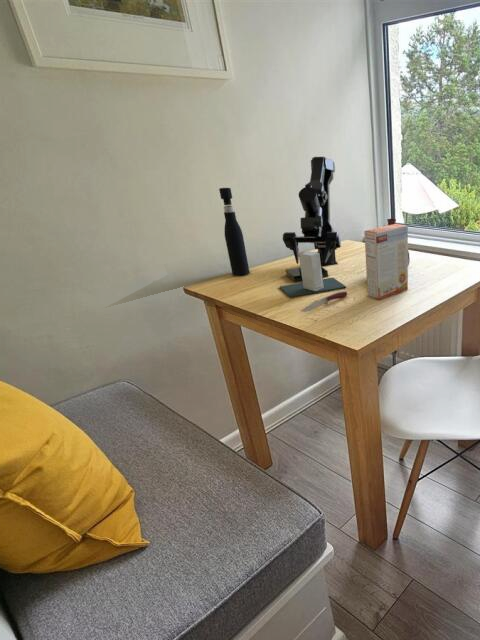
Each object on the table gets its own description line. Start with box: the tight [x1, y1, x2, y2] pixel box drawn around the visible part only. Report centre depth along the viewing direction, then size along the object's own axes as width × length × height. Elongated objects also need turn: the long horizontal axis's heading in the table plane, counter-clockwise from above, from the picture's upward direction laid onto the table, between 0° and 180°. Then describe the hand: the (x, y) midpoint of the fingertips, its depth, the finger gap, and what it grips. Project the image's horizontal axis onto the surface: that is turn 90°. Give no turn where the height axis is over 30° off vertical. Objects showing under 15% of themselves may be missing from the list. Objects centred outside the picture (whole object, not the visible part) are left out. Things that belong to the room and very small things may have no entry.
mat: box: [279, 277, 347, 299], centre depth 147 cm, size 20×12×1 cm, turn 118°
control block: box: [285, 266, 329, 283], centre depth 158 cm, size 13×11×4 cm
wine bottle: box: [218, 187, 250, 277], centre depth 155 cm, size 6×6×30 cm
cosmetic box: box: [298, 250, 324, 291], centre depth 141 cm, size 6×4×12 cm
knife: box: [300, 290, 348, 313], centre depth 131 cm, size 20×1×3 cm, turn 143°
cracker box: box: [364, 223, 409, 300], centre depth 136 cm, size 14×6×21 cm, turn 135°
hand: (310, 262), depth 141 cm, fingers open, 9 cm apart
